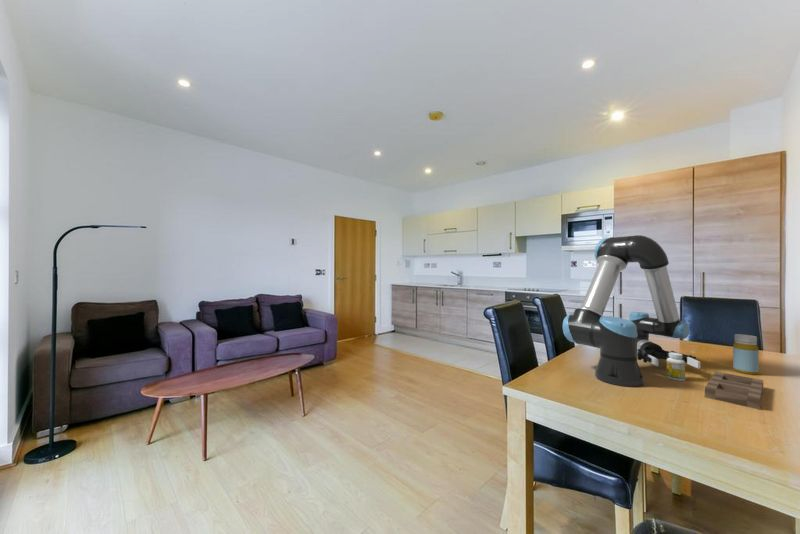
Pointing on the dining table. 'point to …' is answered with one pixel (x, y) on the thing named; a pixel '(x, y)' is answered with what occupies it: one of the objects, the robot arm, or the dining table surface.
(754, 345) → the bottle
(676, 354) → the supplement bottle
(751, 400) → the slot rack
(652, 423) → the dining table surface
